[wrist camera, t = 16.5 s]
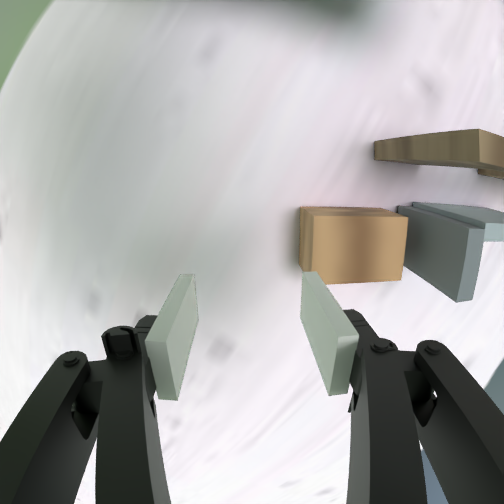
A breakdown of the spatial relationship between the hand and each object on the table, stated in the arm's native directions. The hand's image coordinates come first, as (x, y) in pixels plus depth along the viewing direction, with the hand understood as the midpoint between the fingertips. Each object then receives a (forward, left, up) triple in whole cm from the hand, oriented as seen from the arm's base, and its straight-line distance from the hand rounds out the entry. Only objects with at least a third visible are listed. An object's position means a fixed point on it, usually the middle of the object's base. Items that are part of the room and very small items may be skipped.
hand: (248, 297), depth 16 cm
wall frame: (+28, +9, -15) cm, 33 cm away
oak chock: (+10, 0, -15) cm, 18 cm away
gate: (+24, 0, -15) cm, 28 cm away
